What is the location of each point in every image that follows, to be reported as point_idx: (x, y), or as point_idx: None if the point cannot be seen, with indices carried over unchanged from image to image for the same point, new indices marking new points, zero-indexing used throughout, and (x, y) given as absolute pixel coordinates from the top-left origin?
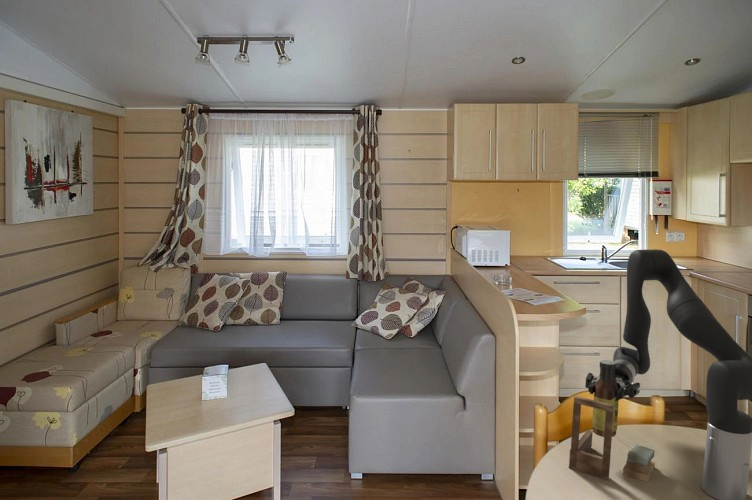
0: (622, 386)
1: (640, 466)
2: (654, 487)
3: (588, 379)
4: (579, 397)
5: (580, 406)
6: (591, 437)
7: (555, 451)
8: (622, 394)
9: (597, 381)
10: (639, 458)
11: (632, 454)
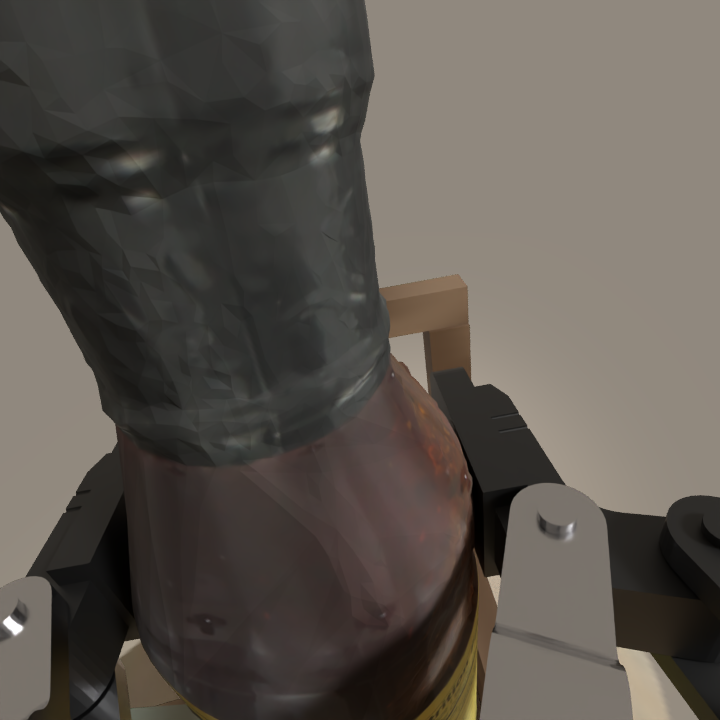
0: (18, 647)
1: (169, 704)
2: (135, 694)
3: (689, 515)
4: (432, 287)
5: (428, 347)
6: None
7: (636, 682)
8: (102, 467)
9: (408, 374)
10: (160, 707)
11: (196, 717)
